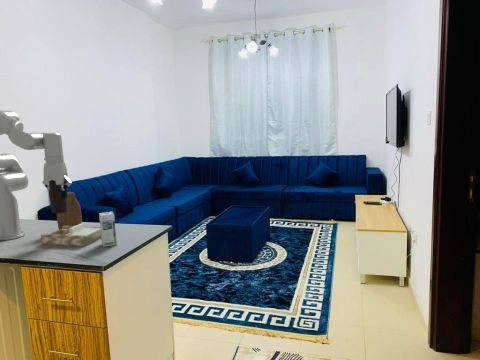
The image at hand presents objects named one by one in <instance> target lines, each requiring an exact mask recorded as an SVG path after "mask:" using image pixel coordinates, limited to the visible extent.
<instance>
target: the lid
mask: <svg viewBox="0 0 480 360" xmlns="http://www.w3.org/2000/svg"><path fill="white" fill-rule="evenodd" d="M85 227H86V225H85V222H84V223H83V222H82V223H81V224H79V225H76V226H74V227H71V228H69V233H68V234H66V235H77V236H84V237H88V236H90V235H93V234H95V233H97V232H99V231H101V229H100V228H85Z"/></svg>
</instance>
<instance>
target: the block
mask: <svg viewBox="0 0 480 360" xmlns="http://www.w3.org/2000/svg"><path fill="white" fill-rule="evenodd" d="M67 207H68V211H67V212H64V213H56V222H57V223H56V224H57V229H58V230H60V229H62V226H76V225H79V224H81V223H83V217H82V210H81V209H82V208H81V205H80V202H79V201H78V199H77V198H76V194H75V192H73V191H67Z"/></svg>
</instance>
